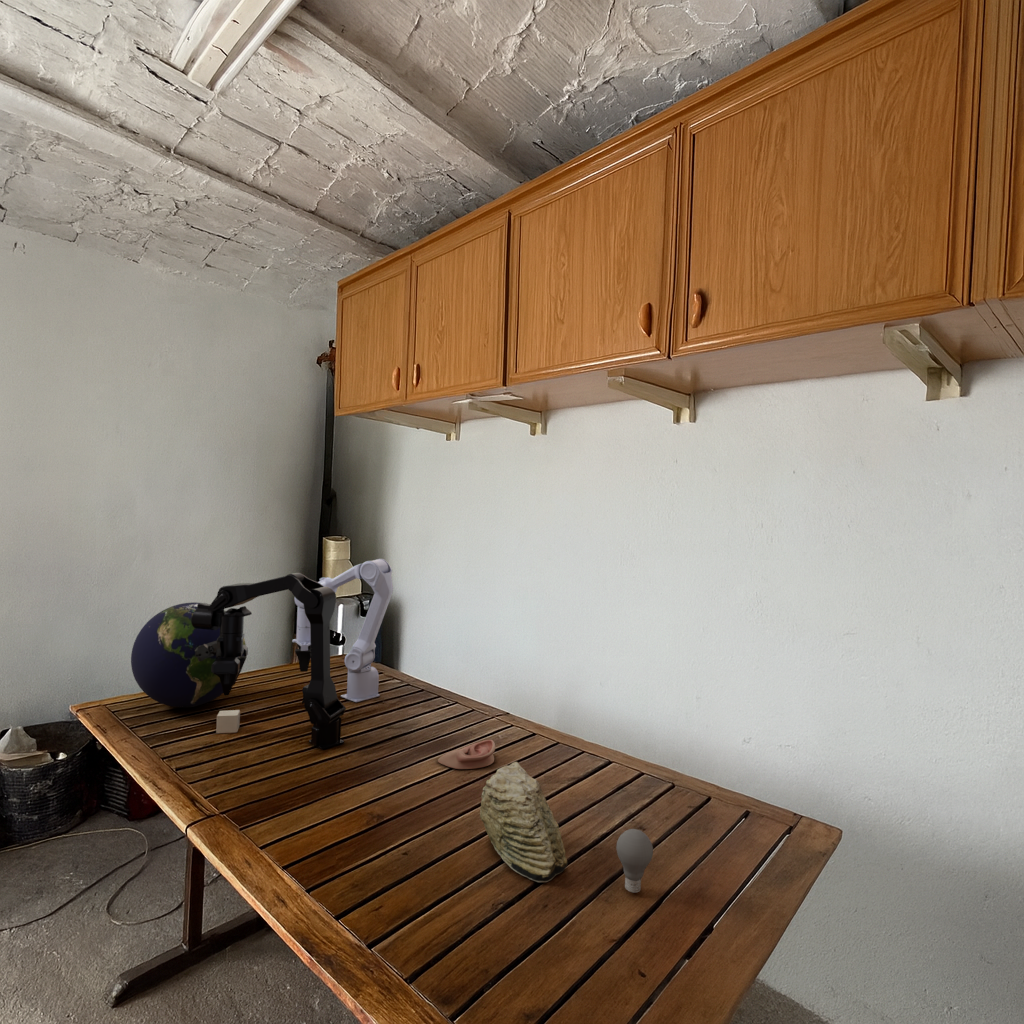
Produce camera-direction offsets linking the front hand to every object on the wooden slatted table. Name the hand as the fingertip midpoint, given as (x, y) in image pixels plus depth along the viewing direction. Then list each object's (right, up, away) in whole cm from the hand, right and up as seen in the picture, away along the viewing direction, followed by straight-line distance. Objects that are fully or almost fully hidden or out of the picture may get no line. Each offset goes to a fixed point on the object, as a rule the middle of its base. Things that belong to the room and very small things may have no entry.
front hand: (229, 690), depth 168 cm
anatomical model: (+64, -14, -13) cm, 67 cm away
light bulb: (+95, -16, -63) cm, 115 cm away
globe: (-20, -10, +18) cm, 28 cm away
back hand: (+8, -3, +35) cm, 37 cm away
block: (-1, -11, 0) cm, 11 cm away
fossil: (+76, -15, -54) cm, 95 cm away
